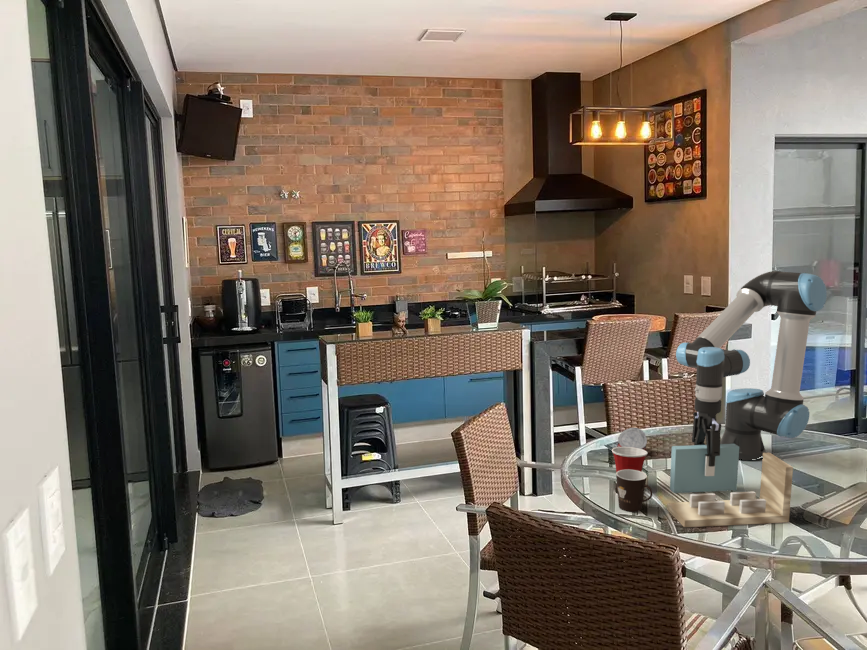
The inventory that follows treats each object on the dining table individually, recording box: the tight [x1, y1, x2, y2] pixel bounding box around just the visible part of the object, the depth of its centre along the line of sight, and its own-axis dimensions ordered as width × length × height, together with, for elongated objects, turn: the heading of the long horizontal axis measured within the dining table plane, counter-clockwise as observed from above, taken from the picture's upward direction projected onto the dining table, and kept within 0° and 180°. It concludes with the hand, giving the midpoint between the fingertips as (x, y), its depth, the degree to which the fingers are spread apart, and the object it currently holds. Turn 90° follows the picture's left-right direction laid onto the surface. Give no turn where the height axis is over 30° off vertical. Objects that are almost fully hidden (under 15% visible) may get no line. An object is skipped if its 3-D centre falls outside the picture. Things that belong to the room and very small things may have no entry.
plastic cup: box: [611, 446, 648, 474], centre depth 231 cm, size 11×11×12 cm
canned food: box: [616, 427, 648, 451], centre depth 262 cm, size 11×10×10 cm
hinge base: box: [666, 452, 794, 528], centre depth 208 cm, size 30×12×16 cm, turn 95°
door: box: [669, 444, 740, 494], centre depth 227 cm, size 20×3×14 cm, turn 95°
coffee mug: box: [615, 469, 653, 513], centre depth 214 cm, size 12×9×10 cm
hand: (704, 471), depth 228 cm, fingers open, 6 cm apart
